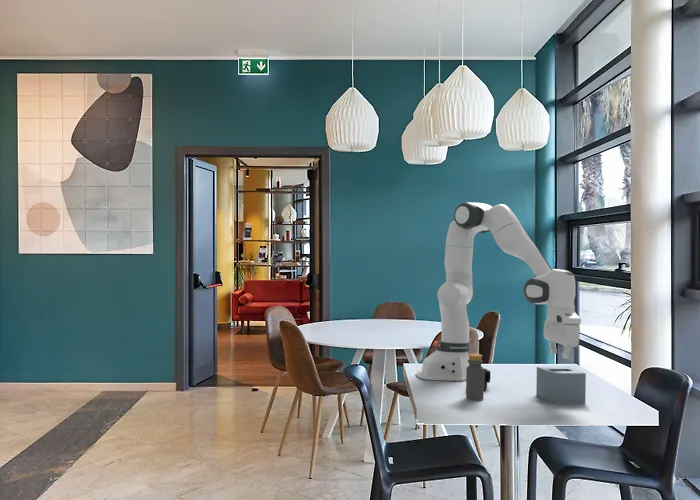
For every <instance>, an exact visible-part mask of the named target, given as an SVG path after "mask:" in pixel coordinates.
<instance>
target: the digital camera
mask: <svg viewBox="0 0 700 500" xmlns="http://www.w3.org/2000/svg"><path fill="white" fill-rule="evenodd" d="M490 382H491V370H488V369H487V368H484V391H486V389H487V388H488V383H490ZM484 391H483V393H484Z"/></svg>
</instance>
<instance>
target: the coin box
mask: <svg viewBox="0 0 700 500" xmlns="http://www.w3.org/2000/svg"><path fill="white" fill-rule="evenodd" d="M586 377H587V376H586V373H585V372H583V371H580V370H579V369H575V368H573V367H571V366H536V396H537V397H539V398H542V399H543V400H544V401H546V402H547V403H549V404H586V389H587V387H586V386H587V385H586V382H587V381H586V380H587V379H586Z"/></svg>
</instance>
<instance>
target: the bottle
mask: <svg viewBox="0 0 700 500" xmlns="http://www.w3.org/2000/svg"><path fill="white" fill-rule="evenodd" d="M468 356H469V359H468V363H469V366H468V367H467V369H466V380H465V381H466V382H465V383H466V384H465V399H467V400H470V401H476V402H477V401H483V400H484V392H483V391H485V390H484V369H485V368H484V367H483V366H482V364H483V363H484V360H483V359H482V358H483V354H480V353H470V354H469V355H468Z"/></svg>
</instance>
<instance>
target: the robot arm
mask: <svg viewBox="0 0 700 500" xmlns="http://www.w3.org/2000/svg"><path fill="white" fill-rule="evenodd" d="M453 219H454V220H453V221H451V222H450V224H449V225H448V226H449V227H448V229H447V234H446V241H445V251H444V264H443V265H444V268H445V282H444V283H443V284H442V285H441V286H440V287H439V289H438V290H437V294H436V296H437V299H438V303H439V312H440V313H439V314H440V318H441V320H440V321H441V322H440V323H441V339H440V341H437V340H434V341H433V343H432V344H433V346H435V348H436V350H435V351H433V352H432V353H431V354H430V355H428V356H427V357H425V358H424V360H423V361H422V366H421V370H417V371H416V374H415V375H416V377H418V378H419V379H422V380H424V381H425V380H428V381H429V380H430V381H450V382H451V381H452V382H453V381H454V382H455V381H456V382H463V381H466V369H467V367H468V366H469V363H468V359H469V356H468V355H469V354H471V342H470V321H469V318H468V311H467V310H468V309H467V305H468V304H469V303H470V302H471V301H472V298H473V295H474V291H473V288H474V287H473V269H472V268H473V266H472V265H473V254H474V253H473V252H474V241H475V240H474V239H475V237H476V235H477V234H478V233H479V234H484V233H487V232H490V233H491V234H492V237H493V238H494V241H495V243H496V245H497V246H498V248H500V249H501V250H502V252H504V253H506V254H508V255H510V256H513V257H515V258H518V259H520V260H522V261H523V262H525V263H526V264H527V265H528V266H529V268H530V269H531V270H532V272H533V274H534V275H535V277H532V278H528V279H527V280H526V281H525V283H524V285H523V287H522V288H523V289H522V294H523V297H524V299H525V300H526V301H527V302H528V303H530V304H533V305H547V318H546V319H545V321H544V325H543V337H544V339H546V340H548V344H549V349H550V350H549V352H550V353H551V354H552V355H556V354H558V348H557V345H556V344H559V345H562V346H563V352H562V353H561V355H562V357H561V358H563V359H565V360H568V359H570V353H571V352H572V348H578V345H579V344H580V332H581V331H580V326H579V325H581V324H582V319H581V317H580V316H579V315H578V314H577V313H576V311H575V310H576V306H575V298H576V278H575V274H574V273H573V272H571V271H569V270H566V269H560V268H553V269H552V267H551V266H550V264H549V263H548V261H547V259H546V258H545V257H544V255H543V254H542V252H541V251H540V250H539V247H537V246H536V244H535V243H534V242H533V241H532V240H531V238H530V237H529V235H528V233H527V232H526V230H525V229H524V227H523V226H522V224H521V222H520V220H519V219H518V218H517V215H515V213H514V212H513V210H511V208H510V207H509V206H507V204H502V203H501V204H496V205H493V204H487V203H483V202H471V201H465V202H461V203H460V204H458V205H457V206H456V208H455V210H454V212H453Z"/></svg>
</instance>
